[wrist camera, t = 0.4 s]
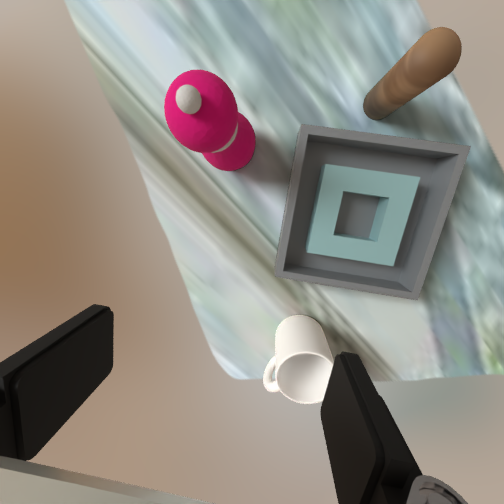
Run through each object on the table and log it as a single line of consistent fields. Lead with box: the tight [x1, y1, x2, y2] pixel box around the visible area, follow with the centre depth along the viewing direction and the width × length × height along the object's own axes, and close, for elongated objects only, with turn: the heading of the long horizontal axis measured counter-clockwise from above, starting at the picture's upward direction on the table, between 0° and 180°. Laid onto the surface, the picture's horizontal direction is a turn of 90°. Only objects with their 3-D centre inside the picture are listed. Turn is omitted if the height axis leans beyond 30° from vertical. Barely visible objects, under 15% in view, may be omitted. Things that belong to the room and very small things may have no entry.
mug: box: [263, 315, 334, 404], centre depth 37 cm, size 12×8×10 cm
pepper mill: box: [164, 70, 255, 171], centre depth 26 cm, size 7×7×20 cm
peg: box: [363, 27, 461, 120], centre depth 27 cm, size 4×4×12 cm
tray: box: [275, 124, 471, 300], centre depth 34 cm, size 20×20×5 cm
